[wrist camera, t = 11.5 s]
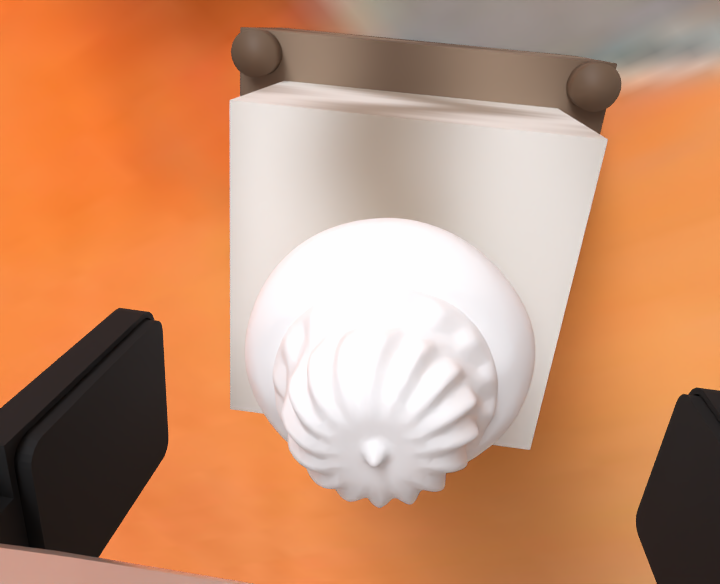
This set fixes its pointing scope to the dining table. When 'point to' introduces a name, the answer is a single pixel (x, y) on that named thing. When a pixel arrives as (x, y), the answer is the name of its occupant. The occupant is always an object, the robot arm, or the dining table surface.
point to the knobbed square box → (415, 163)
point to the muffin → (388, 356)
